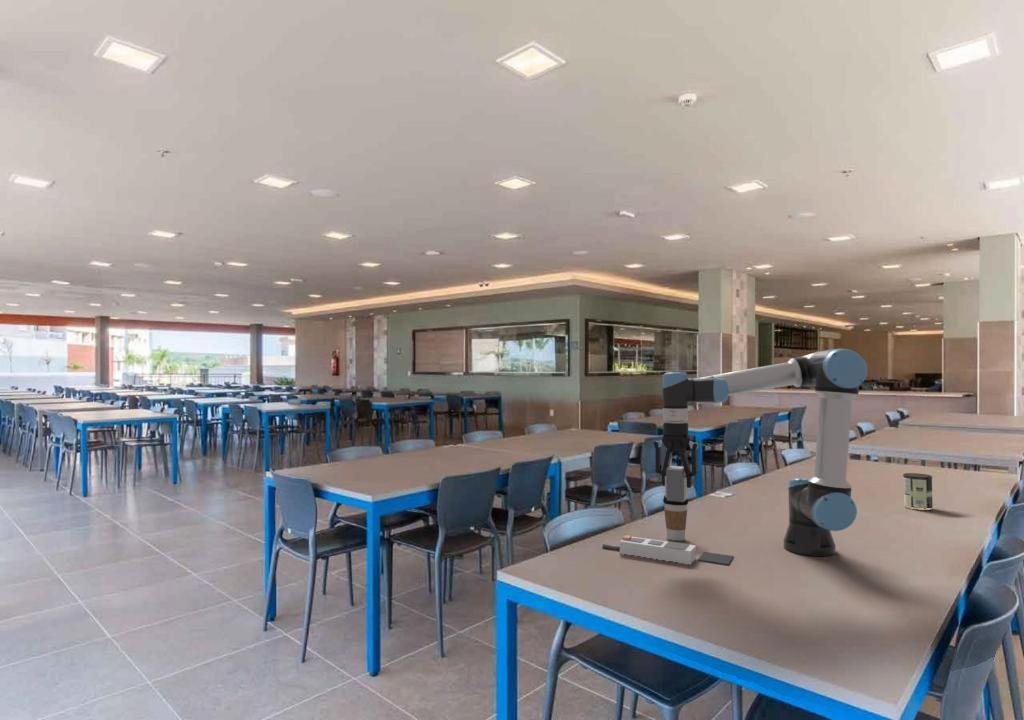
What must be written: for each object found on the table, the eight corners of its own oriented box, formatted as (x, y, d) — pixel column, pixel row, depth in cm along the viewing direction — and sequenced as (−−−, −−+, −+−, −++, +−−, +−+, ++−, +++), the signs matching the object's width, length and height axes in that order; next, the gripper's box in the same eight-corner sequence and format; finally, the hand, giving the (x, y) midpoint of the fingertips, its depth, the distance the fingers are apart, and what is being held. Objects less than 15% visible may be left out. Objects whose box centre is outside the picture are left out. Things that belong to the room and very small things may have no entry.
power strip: (695, 558, 182) (695, 542, 182) (690, 564, 176) (690, 548, 176) (606, 545, 197) (606, 530, 197) (599, 550, 190) (599, 535, 191)
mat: (733, 557, 183) (733, 556, 183) (728, 565, 176) (728, 564, 176) (703, 553, 188) (703, 551, 188) (697, 560, 180) (697, 559, 180)
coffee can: (921, 505, 256) (921, 472, 256) (938, 511, 245) (938, 477, 246) (898, 505, 256) (897, 472, 256) (913, 511, 245) (913, 477, 246)
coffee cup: (689, 542, 200) (689, 498, 200) (663, 541, 201) (663, 497, 202) (687, 535, 208) (687, 493, 208) (662, 534, 210) (662, 492, 210)
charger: (687, 499, 183) (686, 466, 183) (683, 502, 179) (682, 469, 179) (670, 497, 186) (670, 465, 186) (666, 500, 181) (666, 467, 181)
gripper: (643, 422, 184) (644, 496, 183) (702, 423, 175) (704, 502, 174) (650, 420, 190) (651, 492, 190) (708, 421, 182) (709, 497, 181)
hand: (676, 497), depth 182 cm, fingers closed on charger, 5 cm apart
